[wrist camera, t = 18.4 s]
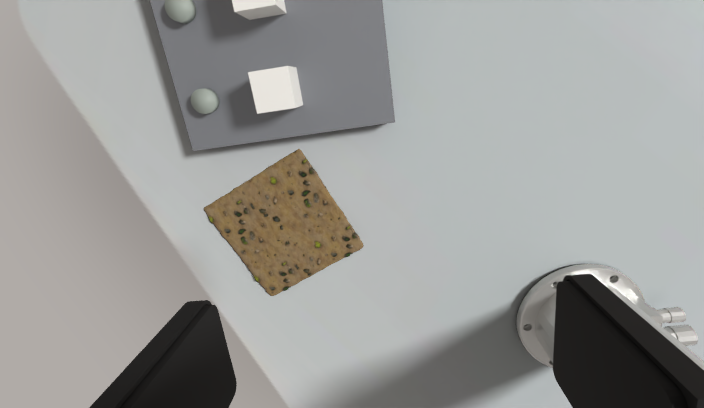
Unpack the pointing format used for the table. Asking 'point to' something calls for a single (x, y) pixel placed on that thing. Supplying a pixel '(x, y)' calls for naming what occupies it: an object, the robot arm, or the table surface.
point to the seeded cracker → (284, 224)
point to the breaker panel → (275, 67)
